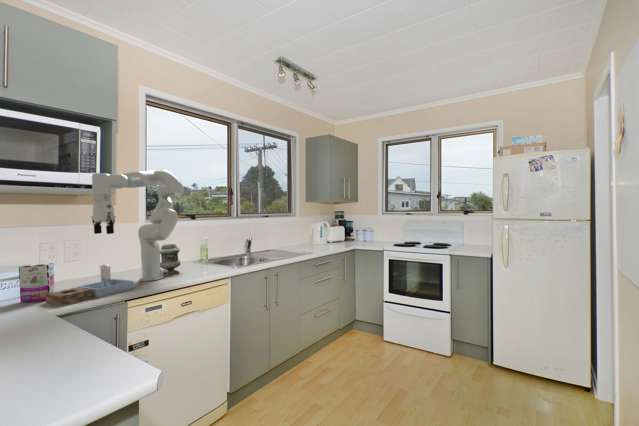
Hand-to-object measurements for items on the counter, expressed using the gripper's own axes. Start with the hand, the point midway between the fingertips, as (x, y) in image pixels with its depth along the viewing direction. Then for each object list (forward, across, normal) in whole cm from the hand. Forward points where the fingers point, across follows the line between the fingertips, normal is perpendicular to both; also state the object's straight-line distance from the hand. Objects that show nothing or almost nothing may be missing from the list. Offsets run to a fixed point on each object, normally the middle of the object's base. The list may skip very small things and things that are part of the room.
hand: (104, 233), depth 158 cm
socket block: (+28, -1, +17) cm, 33 cm away
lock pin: (+28, -1, +1) cm, 28 cm away
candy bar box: (+29, +14, +22) cm, 39 cm away
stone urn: (+29, +8, -43) cm, 53 cm away
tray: (+28, -1, +1) cm, 29 cm away
